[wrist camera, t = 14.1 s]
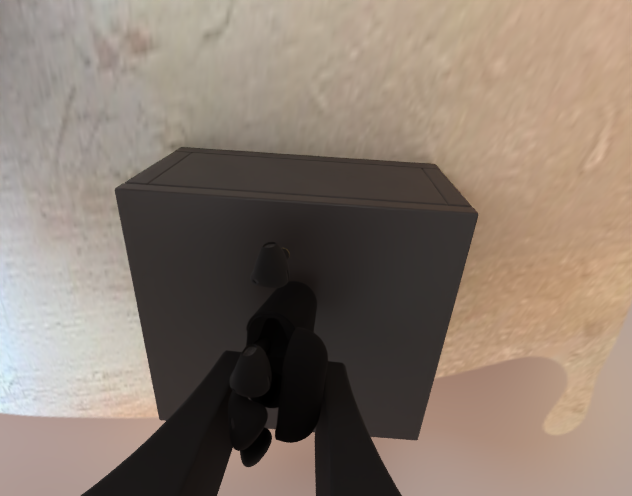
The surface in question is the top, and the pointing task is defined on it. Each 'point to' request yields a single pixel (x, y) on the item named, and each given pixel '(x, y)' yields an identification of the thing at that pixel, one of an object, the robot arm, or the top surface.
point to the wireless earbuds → (277, 363)
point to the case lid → (307, 267)
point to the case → (303, 176)
